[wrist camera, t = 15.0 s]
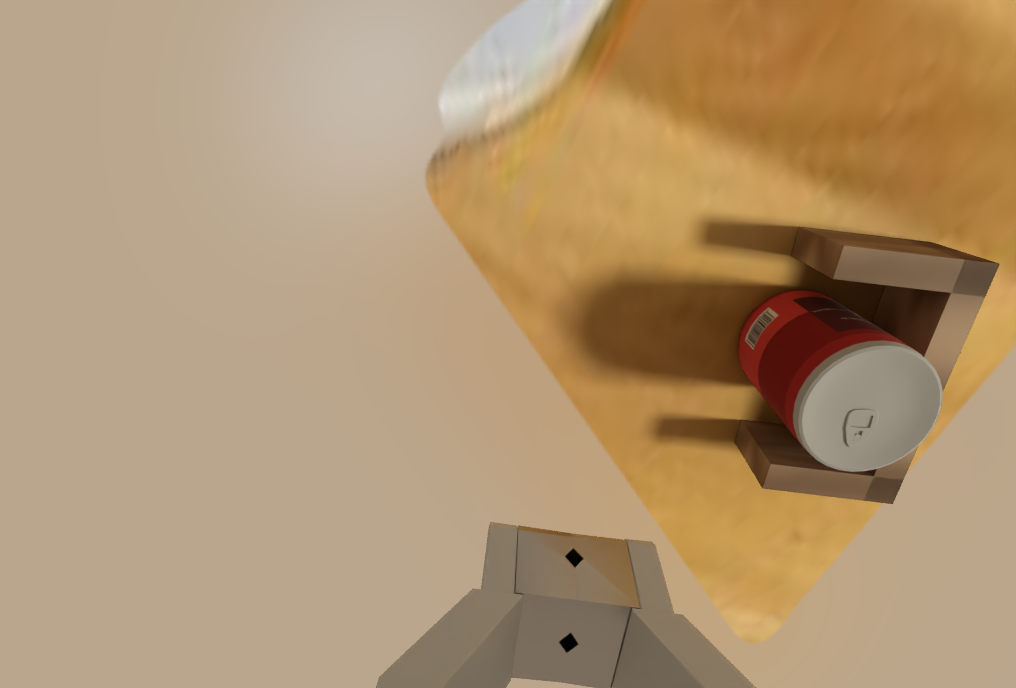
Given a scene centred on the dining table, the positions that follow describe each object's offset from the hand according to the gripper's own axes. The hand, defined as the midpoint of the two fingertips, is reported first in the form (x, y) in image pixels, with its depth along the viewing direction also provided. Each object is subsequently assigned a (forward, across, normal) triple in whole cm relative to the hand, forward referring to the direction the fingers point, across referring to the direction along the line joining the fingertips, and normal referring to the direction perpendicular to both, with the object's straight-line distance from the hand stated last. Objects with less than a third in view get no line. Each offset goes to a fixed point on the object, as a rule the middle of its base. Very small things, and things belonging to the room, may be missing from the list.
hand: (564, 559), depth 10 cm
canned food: (+31, +18, -6) cm, 37 cm away
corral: (+31, +21, -6) cm, 38 cm away
